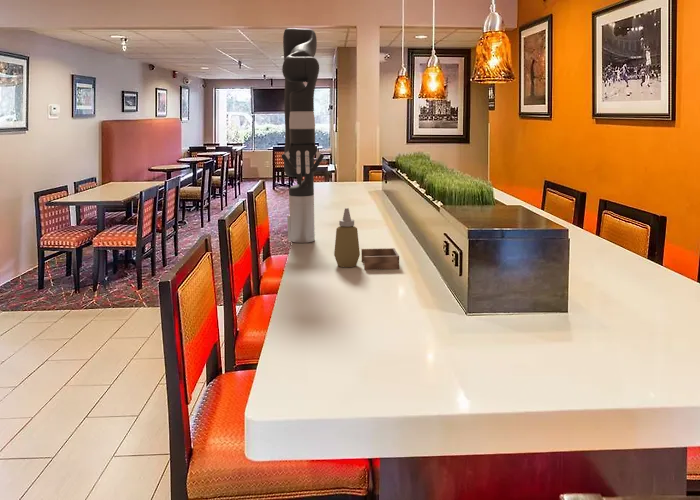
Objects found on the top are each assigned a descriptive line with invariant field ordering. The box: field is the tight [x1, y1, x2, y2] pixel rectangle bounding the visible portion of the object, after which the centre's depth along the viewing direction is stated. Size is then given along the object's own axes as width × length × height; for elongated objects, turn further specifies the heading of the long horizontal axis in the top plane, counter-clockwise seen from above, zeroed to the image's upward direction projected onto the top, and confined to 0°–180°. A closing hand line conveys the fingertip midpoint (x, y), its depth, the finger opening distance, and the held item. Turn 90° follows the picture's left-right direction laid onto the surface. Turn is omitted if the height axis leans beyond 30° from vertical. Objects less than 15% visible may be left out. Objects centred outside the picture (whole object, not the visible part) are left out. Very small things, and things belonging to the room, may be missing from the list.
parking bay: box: [361, 247, 400, 271], centre depth 186 cm, size 11×11×4 cm
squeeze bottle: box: [333, 207, 361, 268], centre depth 184 cm, size 8×8×18 cm
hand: (303, 185), depth 179 cm, fingers closed
